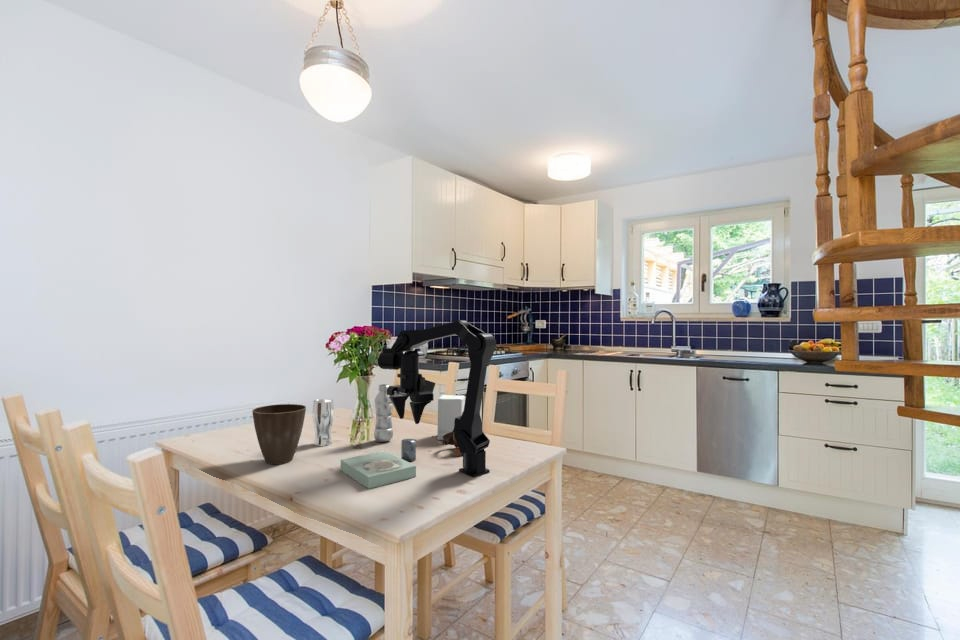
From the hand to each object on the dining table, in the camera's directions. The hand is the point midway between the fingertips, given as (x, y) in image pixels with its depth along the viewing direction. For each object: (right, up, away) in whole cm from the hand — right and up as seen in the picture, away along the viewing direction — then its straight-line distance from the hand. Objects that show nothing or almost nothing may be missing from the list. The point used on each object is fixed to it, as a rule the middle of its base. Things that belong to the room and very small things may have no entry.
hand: (409, 421), depth 136 cm
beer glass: (-33, -12, +17) cm, 39 cm away
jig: (-7, -12, -12) cm, 18 cm away
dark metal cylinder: (0, -12, 0) cm, 12 cm away
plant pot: (-39, -12, -2) cm, 41 cm away
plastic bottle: (-12, -12, +21) cm, 27 cm away
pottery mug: (+15, -12, +9) cm, 22 cm away
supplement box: (+11, -12, +27) cm, 32 cm away
